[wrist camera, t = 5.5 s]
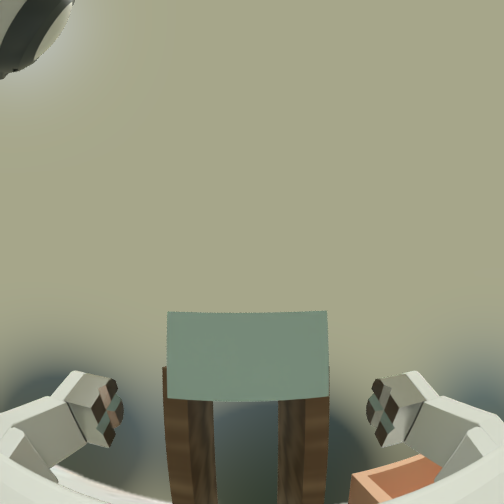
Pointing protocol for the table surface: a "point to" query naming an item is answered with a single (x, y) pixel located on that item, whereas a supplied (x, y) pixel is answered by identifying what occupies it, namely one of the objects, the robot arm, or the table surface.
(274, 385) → the board
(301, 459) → the shelf stand
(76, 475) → the table surface
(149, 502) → the table surface
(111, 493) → the table surface
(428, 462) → the bowl pedestal
